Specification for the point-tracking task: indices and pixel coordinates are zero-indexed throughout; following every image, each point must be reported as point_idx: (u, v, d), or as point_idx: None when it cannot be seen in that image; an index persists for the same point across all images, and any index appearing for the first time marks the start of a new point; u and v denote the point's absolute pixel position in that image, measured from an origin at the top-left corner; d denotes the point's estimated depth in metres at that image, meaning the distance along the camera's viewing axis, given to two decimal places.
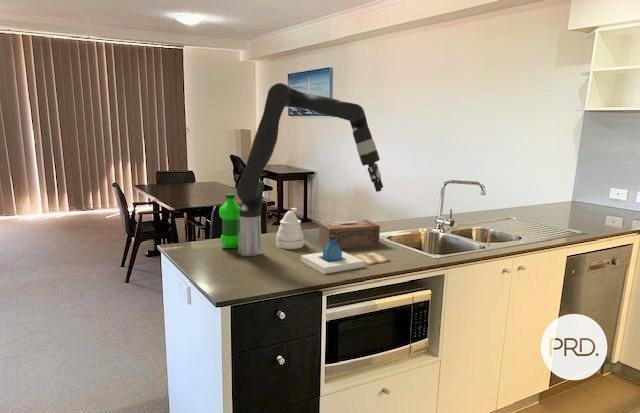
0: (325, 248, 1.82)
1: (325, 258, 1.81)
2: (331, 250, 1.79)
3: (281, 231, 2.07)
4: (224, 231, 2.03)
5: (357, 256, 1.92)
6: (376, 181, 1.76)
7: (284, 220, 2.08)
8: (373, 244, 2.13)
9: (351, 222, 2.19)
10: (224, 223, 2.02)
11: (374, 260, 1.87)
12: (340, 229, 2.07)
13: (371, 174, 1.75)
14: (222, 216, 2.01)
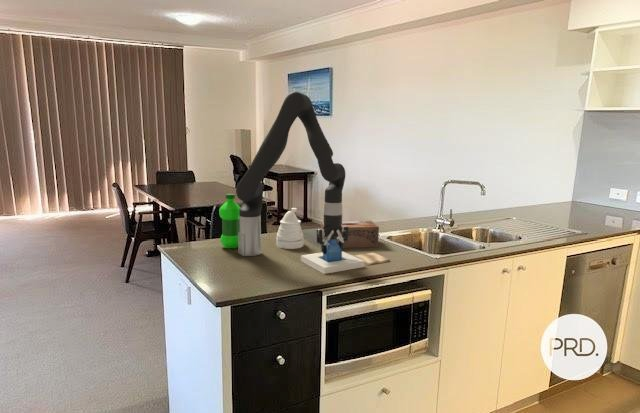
0: None
1: (325, 258, 1.81)
2: (331, 250, 1.79)
3: (281, 231, 2.07)
4: (224, 231, 2.03)
5: (357, 256, 1.92)
6: (321, 244, 1.79)
7: (284, 220, 2.08)
8: (372, 245, 2.11)
9: (352, 222, 2.19)
10: (224, 223, 2.02)
11: (374, 260, 1.87)
12: None
13: (317, 236, 1.78)
14: (222, 216, 2.01)
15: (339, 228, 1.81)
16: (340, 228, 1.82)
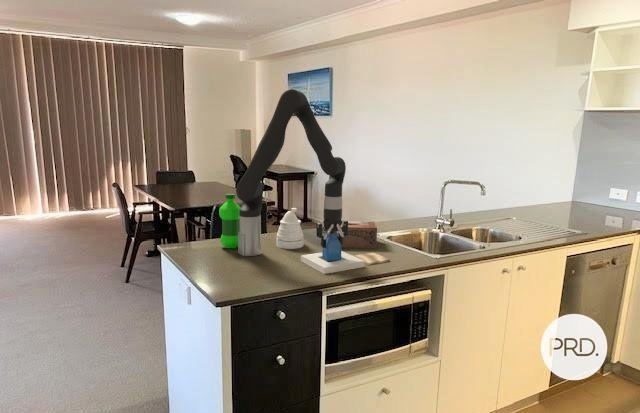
0: None
1: (325, 252, 1.81)
2: (330, 244, 1.79)
3: (281, 231, 2.07)
4: (224, 231, 2.03)
5: (357, 256, 1.92)
6: (321, 238, 1.78)
7: (284, 220, 2.08)
8: (370, 246, 2.10)
9: (354, 222, 2.19)
10: (224, 223, 2.02)
11: (374, 260, 1.87)
12: None
13: (317, 230, 1.78)
14: (222, 216, 2.01)
15: (339, 222, 1.81)
16: (340, 222, 1.81)
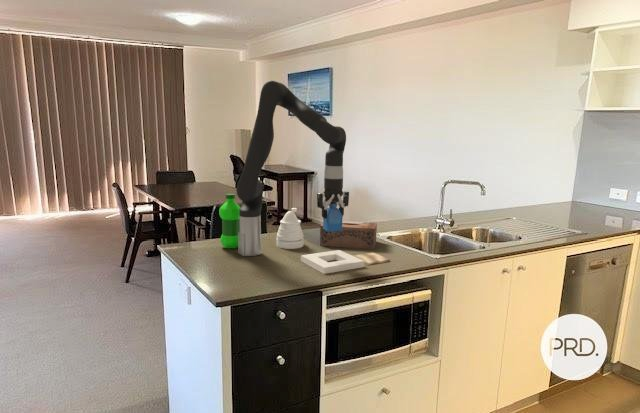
0: None
1: (325, 223, 1.79)
2: (331, 215, 1.77)
3: (281, 231, 2.07)
4: (224, 231, 2.03)
5: (357, 256, 1.92)
6: (322, 208, 1.76)
7: (284, 220, 2.08)
8: (367, 247, 2.08)
9: (355, 223, 2.18)
10: (224, 223, 2.02)
11: (374, 260, 1.87)
12: None
13: (318, 200, 1.76)
14: (222, 216, 2.01)
15: (340, 193, 1.79)
16: (341, 193, 1.79)
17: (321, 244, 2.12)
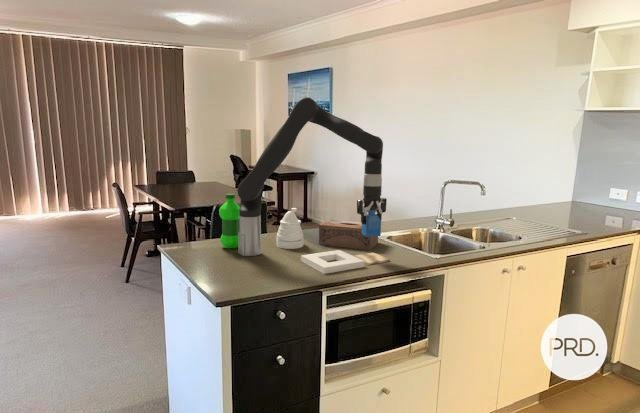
0: None
1: (364, 228, 1.87)
2: (371, 221, 1.85)
3: (281, 231, 2.07)
4: (224, 231, 2.03)
5: (357, 256, 1.92)
6: (361, 214, 1.84)
7: (284, 220, 2.08)
8: (364, 247, 2.07)
9: (355, 223, 2.18)
10: (224, 223, 2.02)
11: (374, 260, 1.87)
12: (330, 227, 2.12)
13: (358, 206, 1.84)
14: (222, 216, 2.01)
15: (378, 199, 1.87)
16: (379, 199, 1.87)
17: (320, 243, 2.15)
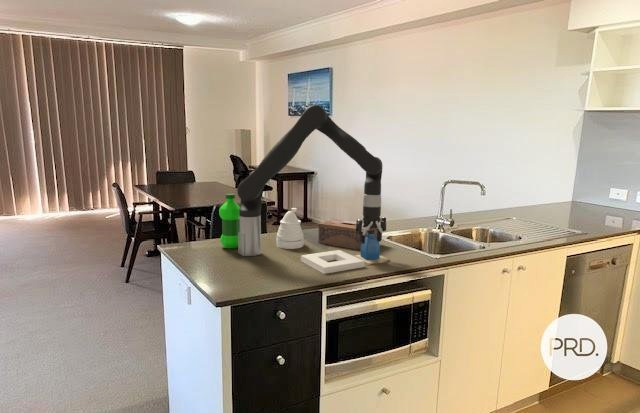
0: None
1: (364, 252, 1.89)
2: (370, 244, 1.86)
3: (281, 231, 2.07)
4: (224, 231, 2.03)
5: (357, 256, 1.92)
6: (360, 234, 1.86)
7: (284, 220, 2.08)
8: (360, 248, 2.06)
9: None
10: (224, 223, 2.02)
11: (374, 260, 1.87)
12: (328, 226, 2.13)
13: (357, 226, 1.85)
14: (222, 216, 2.01)
15: (377, 219, 1.88)
16: (378, 219, 1.88)
17: (319, 241, 2.17)
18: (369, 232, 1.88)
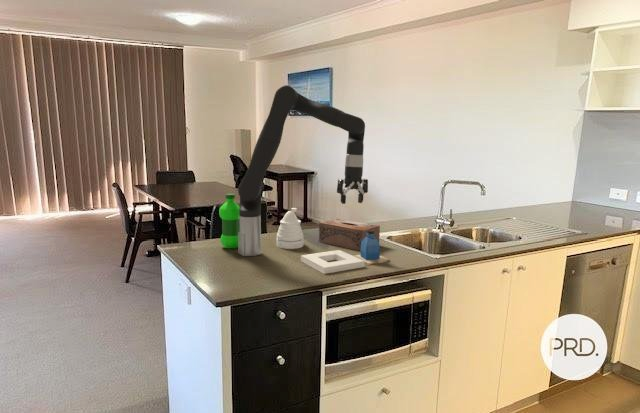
0: (363, 242, 1.89)
1: (364, 252, 1.89)
2: (370, 244, 1.86)
3: (281, 231, 2.07)
4: (224, 231, 2.03)
5: (357, 256, 1.92)
6: (341, 194, 1.87)
7: (284, 220, 2.08)
8: (356, 248, 2.05)
9: (357, 223, 2.16)
10: (224, 223, 2.02)
11: (374, 260, 1.87)
12: (328, 225, 2.15)
13: (338, 185, 1.86)
14: (222, 216, 2.01)
15: (359, 180, 1.89)
16: (360, 180, 1.89)
17: (320, 240, 2.19)
18: (369, 232, 1.88)
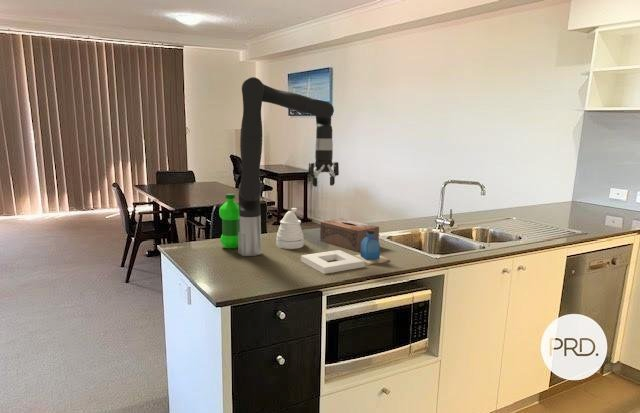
0: (363, 242, 1.89)
1: (364, 252, 1.89)
2: (370, 244, 1.86)
3: (281, 231, 2.07)
4: (224, 231, 2.03)
5: (357, 256, 1.92)
6: (312, 177, 1.93)
7: (284, 220, 2.08)
8: (352, 248, 2.05)
9: (357, 224, 2.16)
10: (224, 223, 2.02)
11: (374, 260, 1.87)
12: (328, 224, 2.16)
13: (309, 169, 1.92)
14: (222, 216, 2.01)
15: (330, 164, 1.95)
16: (331, 163, 1.96)
17: (321, 239, 2.21)
18: (369, 232, 1.88)
